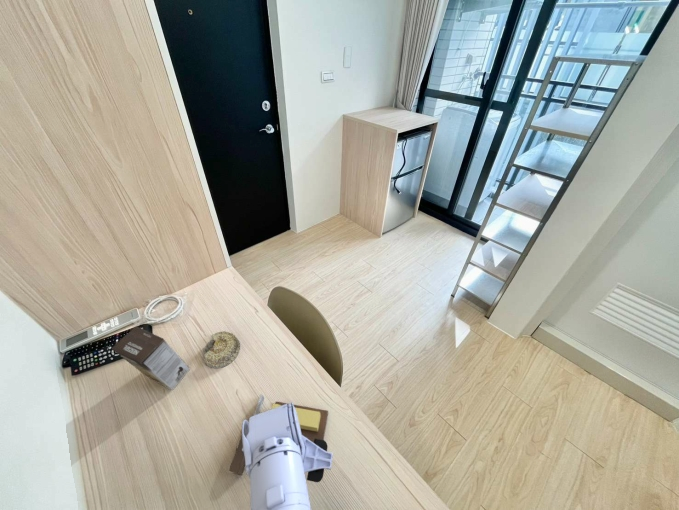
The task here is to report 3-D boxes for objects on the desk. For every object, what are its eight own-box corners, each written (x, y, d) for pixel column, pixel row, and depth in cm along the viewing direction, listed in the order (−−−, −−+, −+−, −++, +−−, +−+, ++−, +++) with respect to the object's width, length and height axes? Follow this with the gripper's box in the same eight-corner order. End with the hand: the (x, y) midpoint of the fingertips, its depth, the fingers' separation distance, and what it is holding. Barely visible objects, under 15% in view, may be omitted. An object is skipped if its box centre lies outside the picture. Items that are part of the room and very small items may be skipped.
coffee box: (146, 377, 70) (109, 348, 59) (166, 355, 75) (135, 324, 64) (172, 391, 68) (139, 364, 57) (191, 368, 72) (164, 338, 61)
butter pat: (278, 424, 62) (275, 420, 60) (270, 422, 62) (268, 418, 60) (282, 409, 64) (280, 404, 62) (275, 407, 64) (272, 403, 62)
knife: (242, 475, 56) (238, 472, 54) (233, 473, 56) (228, 470, 54) (267, 398, 67) (264, 393, 64) (259, 397, 67) (256, 392, 65)
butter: (317, 431, 61) (317, 428, 59) (292, 427, 62) (290, 423, 59) (320, 416, 63) (320, 411, 61) (296, 411, 64) (294, 407, 62)
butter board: (320, 457, 58) (320, 456, 58) (263, 446, 60) (262, 445, 59) (328, 412, 65) (328, 410, 64) (276, 402, 66) (275, 401, 65)
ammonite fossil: (242, 333, 80) (239, 324, 76) (238, 367, 73) (234, 358, 69) (207, 336, 79) (202, 326, 75) (199, 370, 72) (193, 361, 68)
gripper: (336, 425, 42) (335, 441, 52) (247, 408, 43) (263, 427, 53) (327, 484, 37) (329, 489, 47) (228, 463, 38) (249, 472, 48)
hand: (293, 459), depth 50 cm, fingers open, 7 cm apart
